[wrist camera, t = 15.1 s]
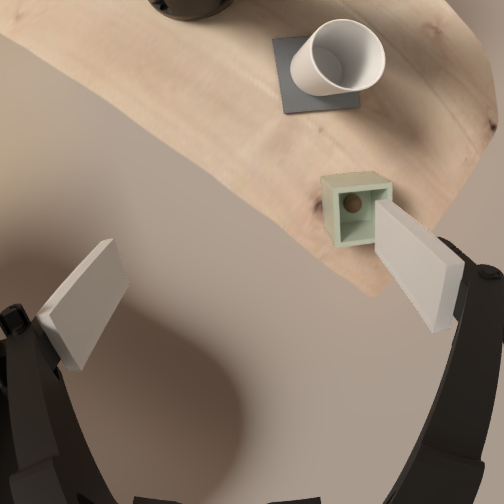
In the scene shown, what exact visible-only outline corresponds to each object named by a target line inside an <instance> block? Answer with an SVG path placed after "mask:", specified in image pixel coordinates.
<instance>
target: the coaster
mask: <svg viewBox="0 0 504 504" xmlns="http://www.w3.org/2000/svg"><path fill="white" fill-rule="evenodd" d="M310 37H311V36H309V37H291V38H279V39H272V42H273V48H274V54H275V60H276V66H277V72H278V78H279V85H280V91H281V98H282V105H283V111H284V113H292V112H303V111H314V110H328V109H345V108H360V100H359V92H358V91H354V92H346V93H339V94H332V95H326V96H313V95H310V94H307V93H305V92H304V91H302V90H301V89H300V88H299V87H298V86H297V85H296V84H295V83H294V81H293V79H292V76H291V72H290V65H291V61H292V59H293V57H294V55H295V54H296V53H297V52H298V51H299V49H300V48H301V47H302V46H303V45H304V44H305V43H306V41H307V40H308V39H309V38H310Z"/></svg>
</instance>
